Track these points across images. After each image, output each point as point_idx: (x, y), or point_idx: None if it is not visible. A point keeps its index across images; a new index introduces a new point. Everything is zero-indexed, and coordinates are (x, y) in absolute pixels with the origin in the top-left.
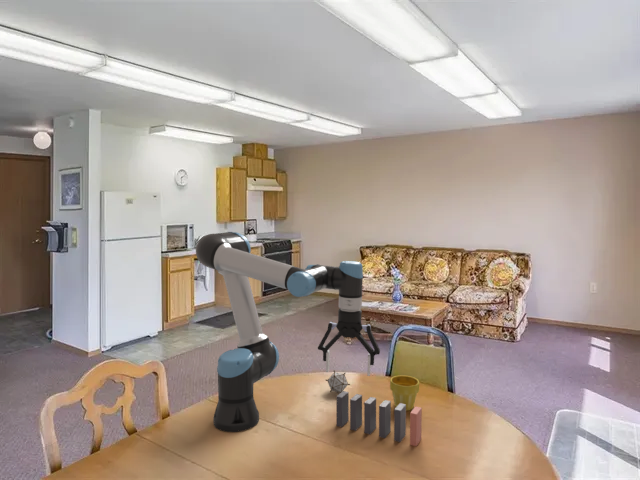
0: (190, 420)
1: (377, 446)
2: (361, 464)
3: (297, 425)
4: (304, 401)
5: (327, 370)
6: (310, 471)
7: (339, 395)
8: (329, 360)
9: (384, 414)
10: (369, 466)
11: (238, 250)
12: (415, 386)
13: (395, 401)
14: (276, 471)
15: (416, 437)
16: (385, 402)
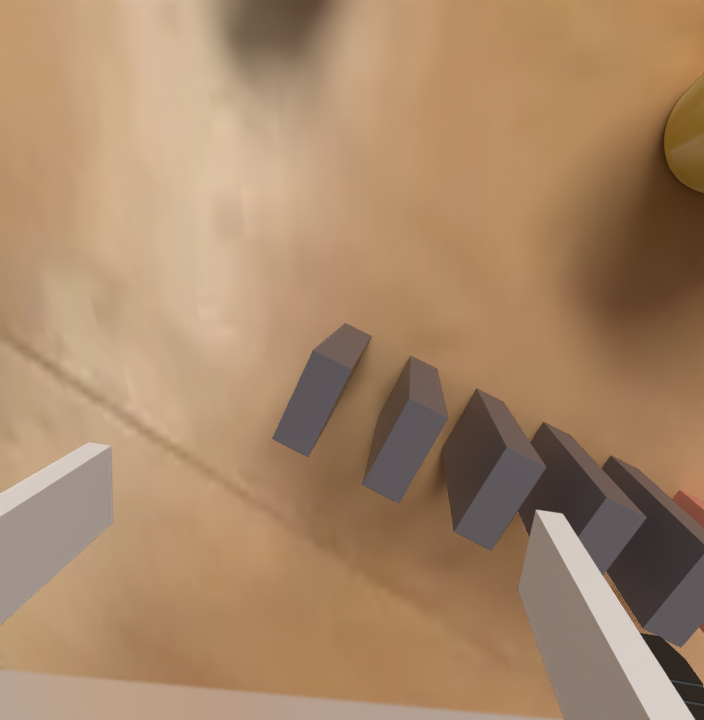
0: None
1: (488, 553)
2: (414, 657)
3: (149, 384)
4: (128, 113)
5: (94, 533)
6: (248, 678)
7: (291, 426)
8: (29, 507)
9: None
10: (442, 670)
11: None
12: None
13: (685, 159)
14: (149, 670)
15: None
16: (602, 535)
